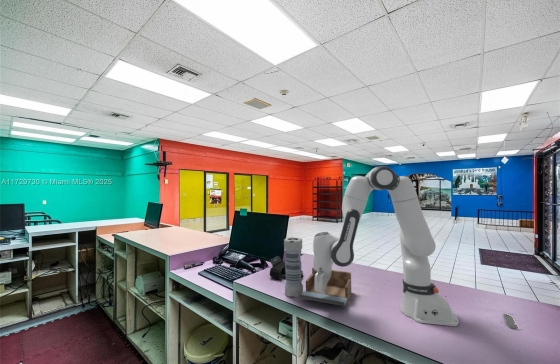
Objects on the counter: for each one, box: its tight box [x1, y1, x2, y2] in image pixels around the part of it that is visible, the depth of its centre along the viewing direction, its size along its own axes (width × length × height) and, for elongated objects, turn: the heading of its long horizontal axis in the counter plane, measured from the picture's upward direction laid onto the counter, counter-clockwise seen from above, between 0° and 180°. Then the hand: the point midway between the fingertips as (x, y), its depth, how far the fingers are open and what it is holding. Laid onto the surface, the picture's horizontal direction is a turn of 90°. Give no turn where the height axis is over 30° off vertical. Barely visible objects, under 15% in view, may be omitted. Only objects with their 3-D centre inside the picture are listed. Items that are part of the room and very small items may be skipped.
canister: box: [283, 236, 304, 298], centre depth 134 cm, size 10×10×30 cm
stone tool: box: [503, 313, 518, 330], centre depth 104 cm, size 14×1×5 cm
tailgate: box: [298, 290, 347, 307], centre depth 121 cm, size 22×2×9 cm
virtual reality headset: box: [269, 255, 304, 281], centre depth 160 cm, size 19×22×10 cm
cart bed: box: [305, 267, 352, 305], centre depth 132 cm, size 22×14×11 cm, turn 66°
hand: (323, 293), depth 120 cm, fingers closed
